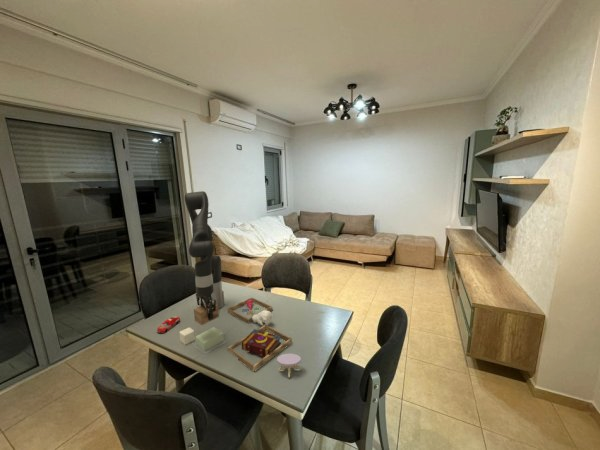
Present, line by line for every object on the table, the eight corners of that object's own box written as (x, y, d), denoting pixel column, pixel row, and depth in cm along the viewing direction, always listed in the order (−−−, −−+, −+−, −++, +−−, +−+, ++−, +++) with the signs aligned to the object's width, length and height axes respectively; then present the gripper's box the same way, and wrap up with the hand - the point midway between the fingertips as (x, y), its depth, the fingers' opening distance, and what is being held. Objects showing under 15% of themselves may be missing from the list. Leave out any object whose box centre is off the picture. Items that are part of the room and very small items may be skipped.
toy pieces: (238, 309, 151) (237, 302, 151) (254, 303, 158) (253, 297, 157) (246, 317, 142) (246, 310, 141) (263, 311, 149) (263, 304, 148)
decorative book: (269, 359, 107) (269, 349, 106) (239, 350, 113) (238, 340, 112) (281, 344, 118) (281, 334, 117) (252, 336, 124) (252, 327, 123)
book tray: (265, 328, 130) (265, 324, 130) (291, 343, 119) (291, 338, 118) (227, 352, 112) (227, 347, 112) (254, 372, 101) (253, 366, 100)
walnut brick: (212, 312, 121) (211, 301, 120) (219, 316, 117) (218, 305, 116) (194, 320, 114) (193, 308, 113) (201, 325, 110) (200, 313, 109)
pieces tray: (251, 300, 161) (251, 297, 161) (272, 310, 149) (272, 306, 148) (227, 312, 147) (227, 308, 147) (248, 324, 135) (248, 320, 134)
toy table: (274, 377, 98) (274, 365, 97) (280, 361, 107) (280, 349, 106) (298, 380, 96) (298, 367, 95) (302, 364, 105) (302, 352, 104)
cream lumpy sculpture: (266, 314, 128) (248, 311, 133) (268, 329, 129) (250, 326, 135) (272, 309, 134) (255, 306, 139) (274, 323, 135) (256, 320, 140)
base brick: (214, 334, 124) (214, 327, 123) (223, 340, 119) (223, 333, 118) (195, 344, 117) (195, 336, 116) (204, 351, 112) (203, 343, 111)
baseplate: (214, 333, 126) (214, 331, 126) (227, 343, 119) (227, 341, 119) (191, 345, 117) (191, 343, 117) (204, 356, 110) (204, 354, 110)
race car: (163, 335, 126) (162, 328, 125) (155, 333, 127) (154, 326, 127) (182, 321, 138) (181, 315, 138) (174, 319, 140) (173, 313, 139)
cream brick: (190, 337, 123) (189, 327, 122) (195, 341, 120) (194, 330, 119) (180, 342, 119) (179, 331, 118) (185, 347, 116) (184, 335, 115)
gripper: (220, 284, 111) (222, 318, 114) (204, 277, 120) (206, 308, 123) (204, 290, 105) (207, 325, 108) (189, 282, 114) (191, 315, 117)
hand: (206, 316), depth 115 cm, fingers closed on walnut brick, 6 cm apart
